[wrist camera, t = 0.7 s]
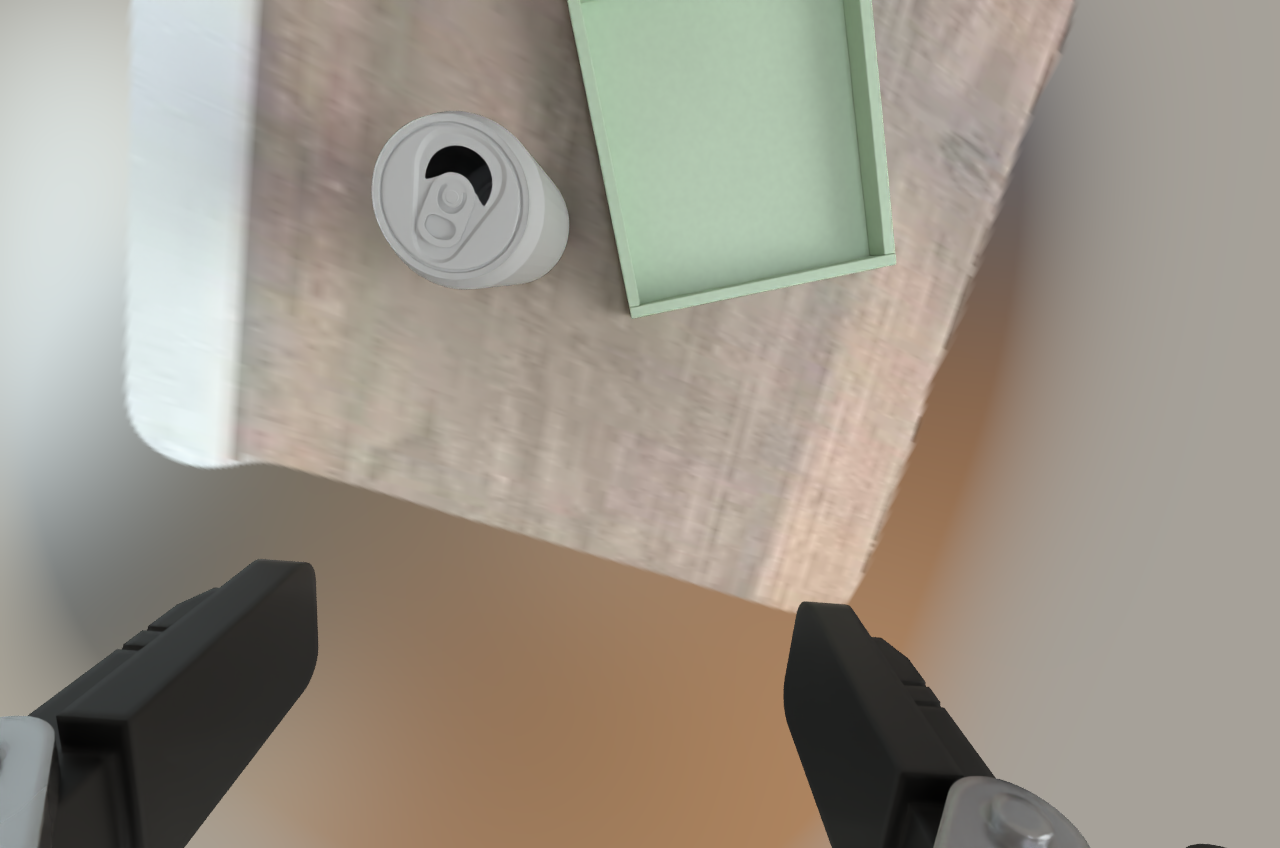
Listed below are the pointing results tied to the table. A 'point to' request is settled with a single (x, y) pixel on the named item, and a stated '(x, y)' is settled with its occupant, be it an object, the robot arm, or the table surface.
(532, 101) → the table surface
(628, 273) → the tray
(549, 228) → the beverage can
